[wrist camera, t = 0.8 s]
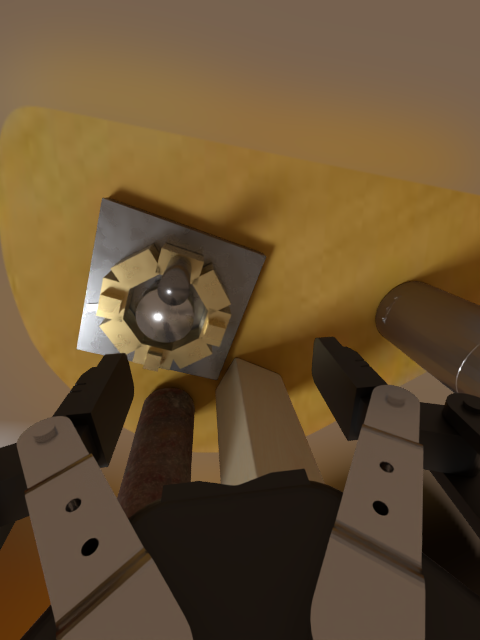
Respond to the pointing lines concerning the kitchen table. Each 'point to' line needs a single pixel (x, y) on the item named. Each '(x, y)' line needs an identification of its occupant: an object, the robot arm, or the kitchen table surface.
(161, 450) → the candle
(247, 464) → the light grey tall block
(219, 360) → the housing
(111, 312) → the tan block ring
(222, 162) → the kitchen table surface
